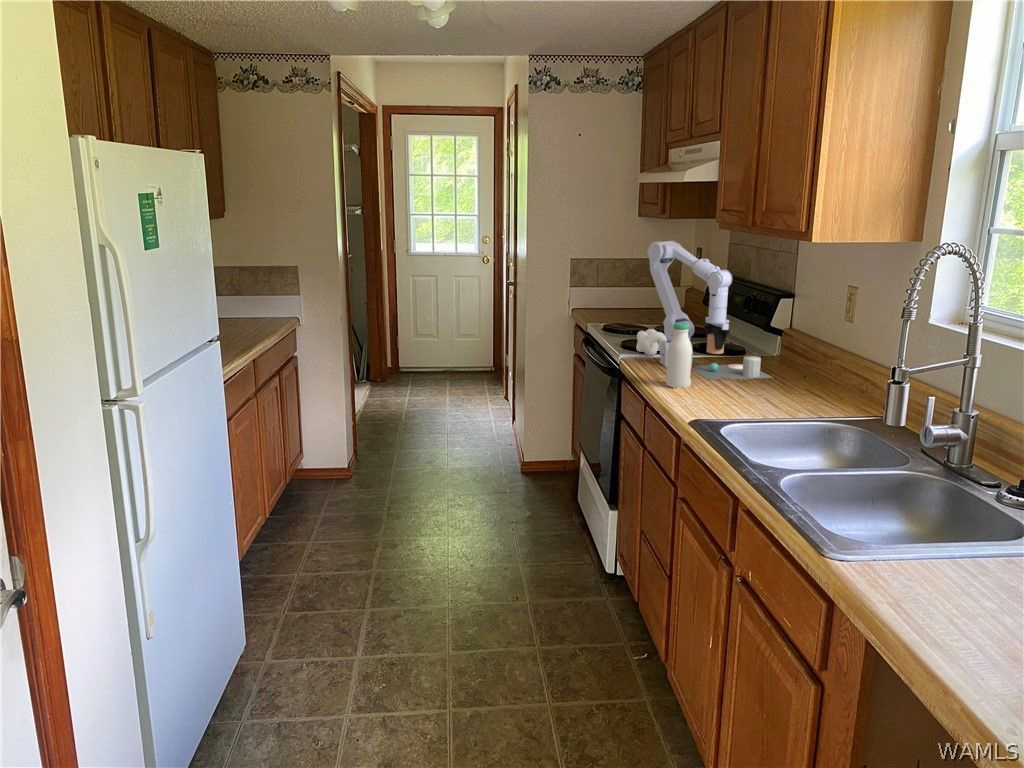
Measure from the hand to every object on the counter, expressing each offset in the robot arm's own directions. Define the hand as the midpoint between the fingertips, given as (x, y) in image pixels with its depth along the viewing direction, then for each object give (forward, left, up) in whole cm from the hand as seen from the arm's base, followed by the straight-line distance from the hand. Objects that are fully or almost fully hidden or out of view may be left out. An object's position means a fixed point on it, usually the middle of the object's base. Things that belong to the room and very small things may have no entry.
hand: (715, 347), depth 250 cm
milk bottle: (-18, -15, -9) cm, 25 cm away
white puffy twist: (-11, +33, -9) cm, 36 cm away
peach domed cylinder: (0, 0, -2) cm, 2 cm away
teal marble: (0, 0, -7) cm, 7 cm away
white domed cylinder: (+10, -7, -8) cm, 15 cm away
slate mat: (+5, -1, -9) cm, 10 cm away
